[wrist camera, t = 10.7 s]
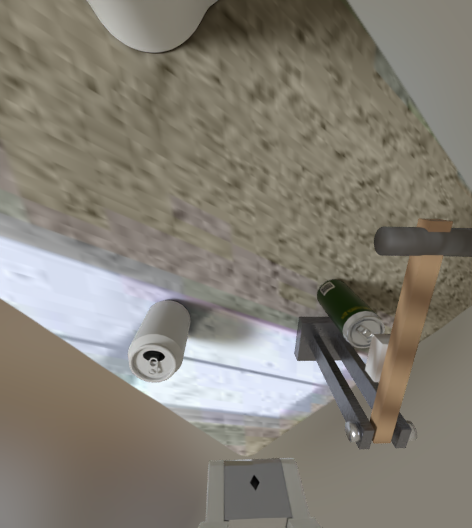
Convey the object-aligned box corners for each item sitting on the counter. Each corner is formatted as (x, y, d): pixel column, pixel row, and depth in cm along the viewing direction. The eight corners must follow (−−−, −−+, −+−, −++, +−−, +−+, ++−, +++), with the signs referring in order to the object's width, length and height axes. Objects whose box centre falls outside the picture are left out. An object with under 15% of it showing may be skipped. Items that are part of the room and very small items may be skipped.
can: (192, 299, 45) (182, 344, 34) (189, 336, 47) (179, 389, 36) (148, 295, 44) (122, 339, 33) (147, 333, 47) (123, 385, 35)
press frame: (299, 316, 47) (349, 414, 28) (353, 316, 48) (437, 412, 29) (294, 353, 50) (337, 464, 31) (345, 352, 50) (417, 461, 32)
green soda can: (309, 295, 46) (337, 337, 34) (330, 272, 44) (366, 307, 33) (331, 310, 47) (365, 356, 36) (352, 288, 46) (394, 328, 34)
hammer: (370, 214, 26) (396, 221, 22) (457, 216, 26) (497, 223, 22) (332, 418, 34) (346, 448, 30) (399, 416, 34) (422, 446, 30)
